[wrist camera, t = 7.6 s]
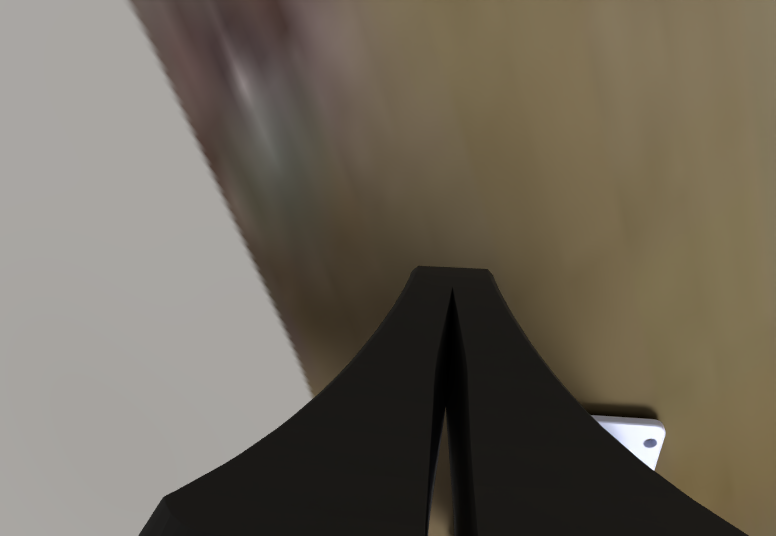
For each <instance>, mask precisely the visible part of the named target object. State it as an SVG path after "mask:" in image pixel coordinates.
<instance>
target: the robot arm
mask: <svg viewBox="0 0 776 536" xmlns="http://www.w3.org/2000/svg"><path fill="white" fill-rule="evenodd" d="M445 408H446V417H447V431H448V444H449V458H450V472H451V485H452V499H453V512H454V536H748V535H747V534H745V533H744V532H742V531H741V530H739V529H738V528H736V527H734V526H733V525H731V524H730V523H728V522H727V521H725V520H724V519H722V518H721V517H719V516H717V515H716V514H714V513H713V512H711V511H710V510H708V509H707V508H705V507H704V506H702V505H701V504H699V503H697V502H696V501H694V500H693V499H692V498H690V497H689V496H687V495H686V494H684V493H683V492H682V491H680V490H679V489H678V488H676V487H675V486H674V485H672V484H671V483H670V482H668V481H667V480H666V479H664V478H663V477H662V476H660V475H659V474H658V473H656V472H655V471H654V469H655V466H656V463H657V460H658V457H659V453H660V450H661V447H662V444H663V441H664V437H665V428H664V425H663V424H662V422H660V421H659V420H655V419H644V418H628V417H613V416H598V415H590V414H589V413H588V412H587V411H586V410H585V409H584V408H583V407H582V405H581V404H580V403H579V402H578V401H577V400H576V399H575V398H574V397H573V396H572V395H571V394H570V392H569V391H568V390H567V389H566V388H565V387H564V385H563V384H562V383H561V382H560V381H559V379H558V378H557V377H556V376H555V375H554V373H553V372H552V371H551V369H550V368H549V367H548V366H547V364H546V363H545V362H544V360H543V359H542V358H541V356H540V355H539V354H538V352H537V351H536V349H535V348H534V347H533V345H532V344H531V342H530V341H529V339H528V338H527V336H526V335H525V333H524V332H523V330H522V329H521V327H520V326H519V324H518V322H517V321H516V319H515V318H514V316H513V314H512V313H511V311H510V309H509V307H508V305H507V304H506V302H505V300H504V298H503V296H502V294H501V292H500V290H499V288H498V286H497V284H496V282H495V279H494V277H493V275H492V274H491V273H490V272H489V270H488V269H472V268H451V267H430V266H418V267H417V268H415V269H414V270H413V271H412V272H411V275H410V278H409V280H408V282H407V284H406V286H405V288H404V289H403V291H402V293H401V295H400V296H399V298H398V299H397V301H396V303H395V304H394V306H393V307H392V309H391V310H390V312H389V313H388V315H387V316H386V317H385V319H384V320H383V322H382V323H381V325H380V326H379V327H378V329H377V330H376V331H375V333H374V334H373V335H372V337H371V338H370V339H369V340H368V341H367V343H366V344H365V345H364V346H363V347H362V349H361V350H360V351H359V352H358V353H357V355H356V356H355V357H354V358H353V359H352V361H351V362H350V363H349V364H348V365H347V366H346V367H345V368H344V369H343V370H342V371H341V372H340V373H339V374H338V376H337V377H336V378H335V379H334V380H332V381H331V382H330V383H329V384H328V385H327V386H326V387H325V388H324V389H323V390H322V391H321V392H320V393H319V394H318V395H317V396H316V397H314V398H313V399H312V400H311V401H310V402H309V403H307V404H306V405H305V406H304V407H303V408H302V409H301V410H299V411H298V412H297V413H296V414H295V415H294V416H292V417H291V418H290V419H289V420H287V421H286V422H285V423H283V424H282V425H281V426H280V427H278V428H277V429H276V430H274V431H273V432H271V433H270V434H268V435H267V436H266V437H264V438H263V439H261V440H260V441H259V442H257V443H255V444H254V445H253V446H251V447H250V448H248V449H247V450H245V451H244V452H243V453H241V454H239V455H238V456H236V457H235V458H233V459H232V460H230V461H228V462H227V463H225V464H223V465H222V466H220V467H218V468H216V469H214V470H213V471H211V472H209V473H207V474H205V475H203V476H202V477H200V478H198V479H196V480H194V481H193V482H191V483H189V484H187V485H185V486H183V487H182V488H180V489H178V490H176V491H174V492H172V493H170V494H168V495H166V496H165V497H163V499H162V500H161V501H160V503H159V505H158V506H157V508H156V509H155V511H154V512H153V514H152V515H151V517H150V519H149V520H148V522H147V523H146V525H145V526H144V528H143V529H142V531H141V532H140V534H139V536H428V529H429V520H430V511H431V504H432V497H433V490H434V483H435V477H436V470H437V463H438V456H439V449H440V442H441V435H442V428H443V422H444V415H445ZM647 439H651V440H647ZM646 440H647V441H646Z"/></svg>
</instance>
